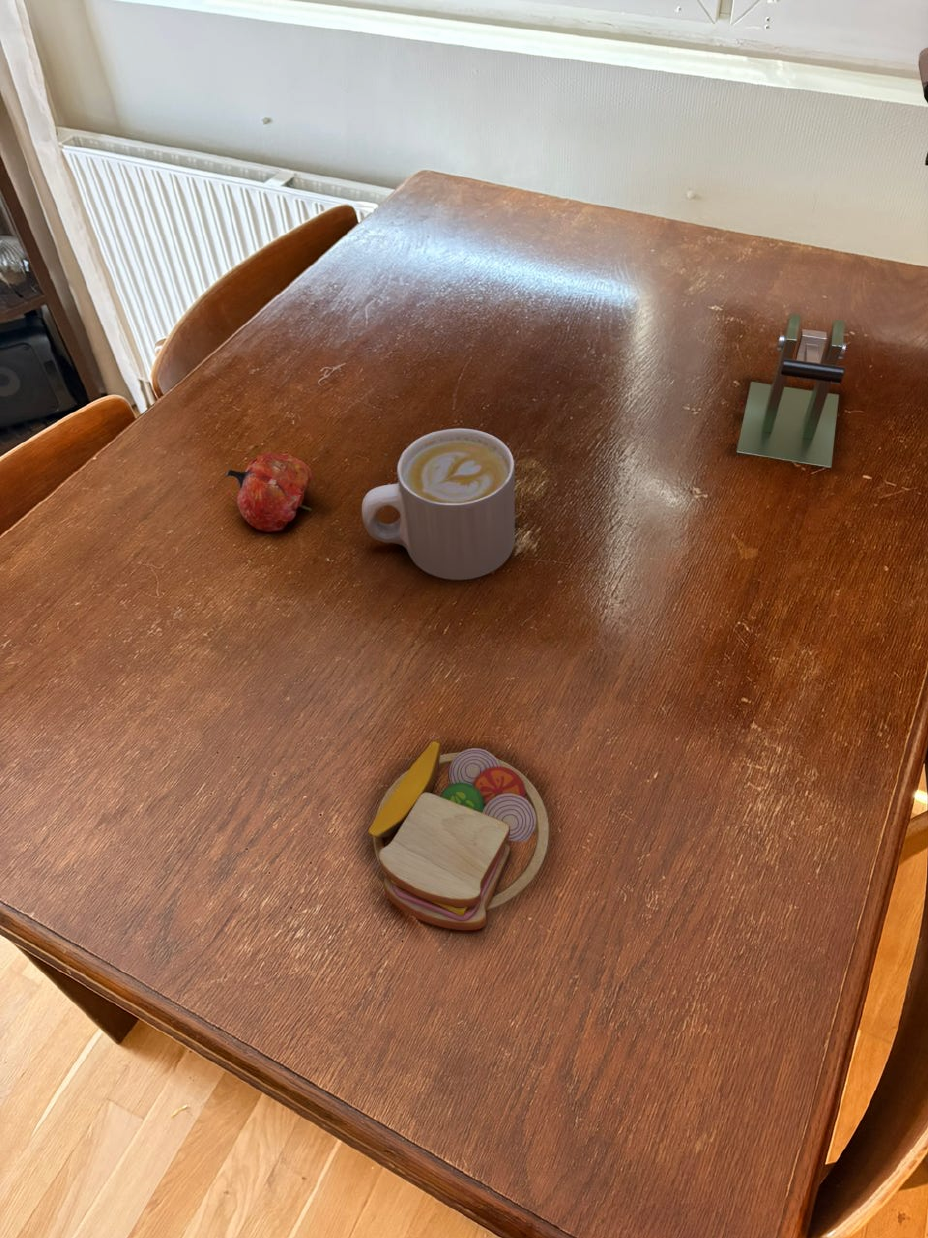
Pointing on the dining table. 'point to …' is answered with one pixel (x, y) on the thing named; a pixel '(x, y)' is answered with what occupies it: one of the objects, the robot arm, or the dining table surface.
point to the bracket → (793, 409)
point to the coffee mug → (450, 504)
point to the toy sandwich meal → (456, 836)
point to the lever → (811, 360)
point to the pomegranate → (272, 490)
